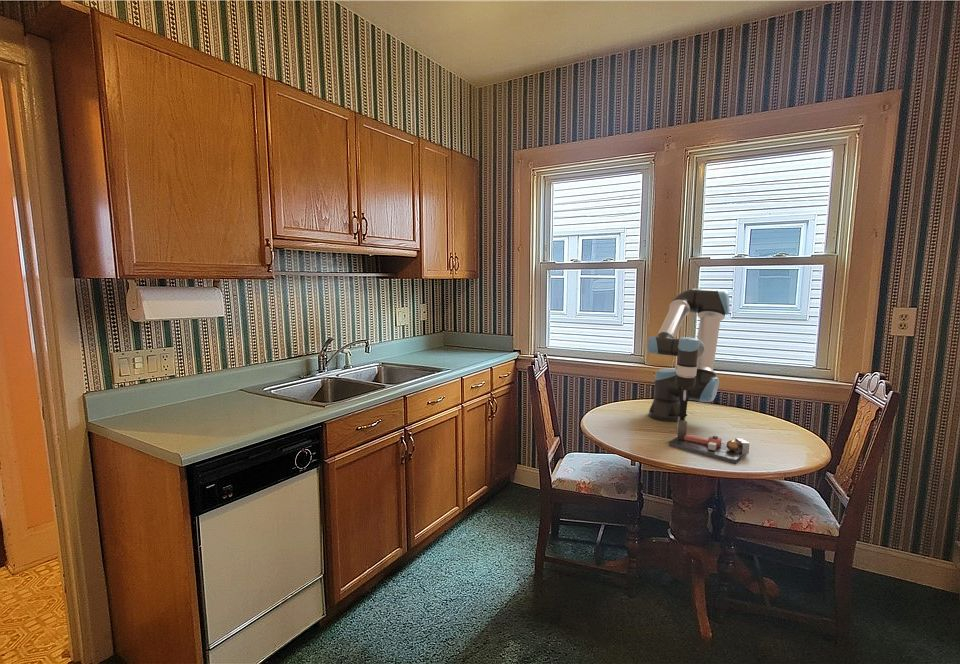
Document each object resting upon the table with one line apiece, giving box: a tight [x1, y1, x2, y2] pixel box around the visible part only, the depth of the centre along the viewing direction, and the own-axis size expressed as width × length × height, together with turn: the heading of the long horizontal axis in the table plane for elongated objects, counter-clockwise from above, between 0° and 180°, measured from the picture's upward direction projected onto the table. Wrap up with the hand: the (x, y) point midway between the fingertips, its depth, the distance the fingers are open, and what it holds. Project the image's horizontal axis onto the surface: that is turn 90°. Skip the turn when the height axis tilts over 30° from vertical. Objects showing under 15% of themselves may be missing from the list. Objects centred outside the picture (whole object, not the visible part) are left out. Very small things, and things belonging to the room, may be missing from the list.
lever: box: [676, 419, 722, 450], centre depth 176 cm, size 16×9×7 cm, turn 53°
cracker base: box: [668, 436, 750, 465], centre depth 174 cm, size 26×14×6 cm, turn 45°
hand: (680, 431), depth 186 cm, fingers closed
